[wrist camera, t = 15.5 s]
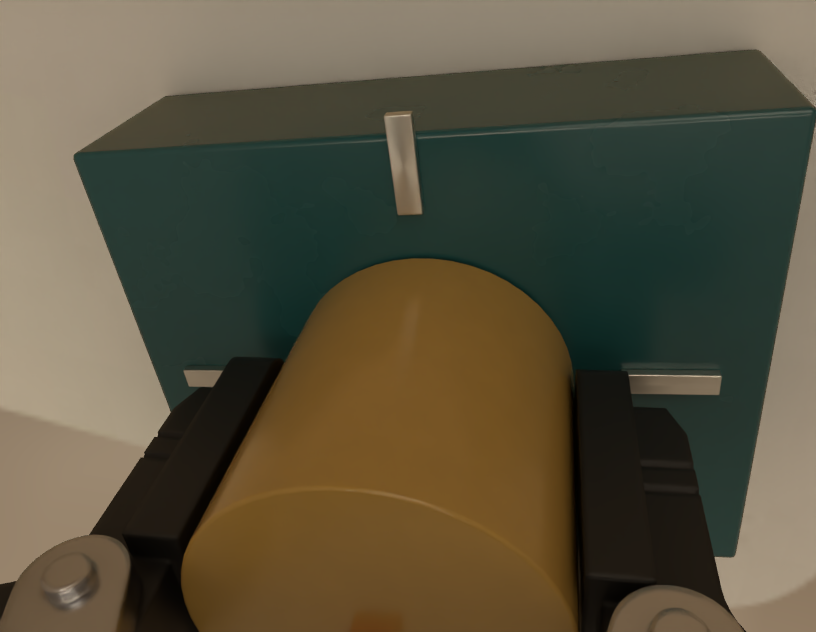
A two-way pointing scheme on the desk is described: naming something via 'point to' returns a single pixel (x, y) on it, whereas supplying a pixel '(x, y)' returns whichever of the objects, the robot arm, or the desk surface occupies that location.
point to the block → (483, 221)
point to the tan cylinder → (402, 469)
